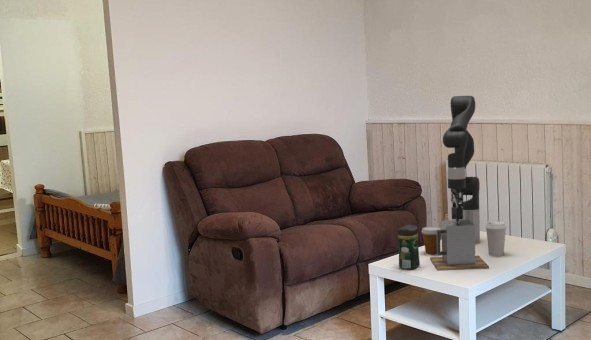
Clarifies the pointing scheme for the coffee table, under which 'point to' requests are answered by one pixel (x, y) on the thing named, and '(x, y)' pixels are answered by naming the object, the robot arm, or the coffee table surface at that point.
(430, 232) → the disposable coffee cup
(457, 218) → the plunger
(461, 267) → the walnut board
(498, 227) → the coffee cup
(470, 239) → the silver block with slot
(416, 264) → the coffee jar
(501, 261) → the coffee table surface
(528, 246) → the coffee table surface
